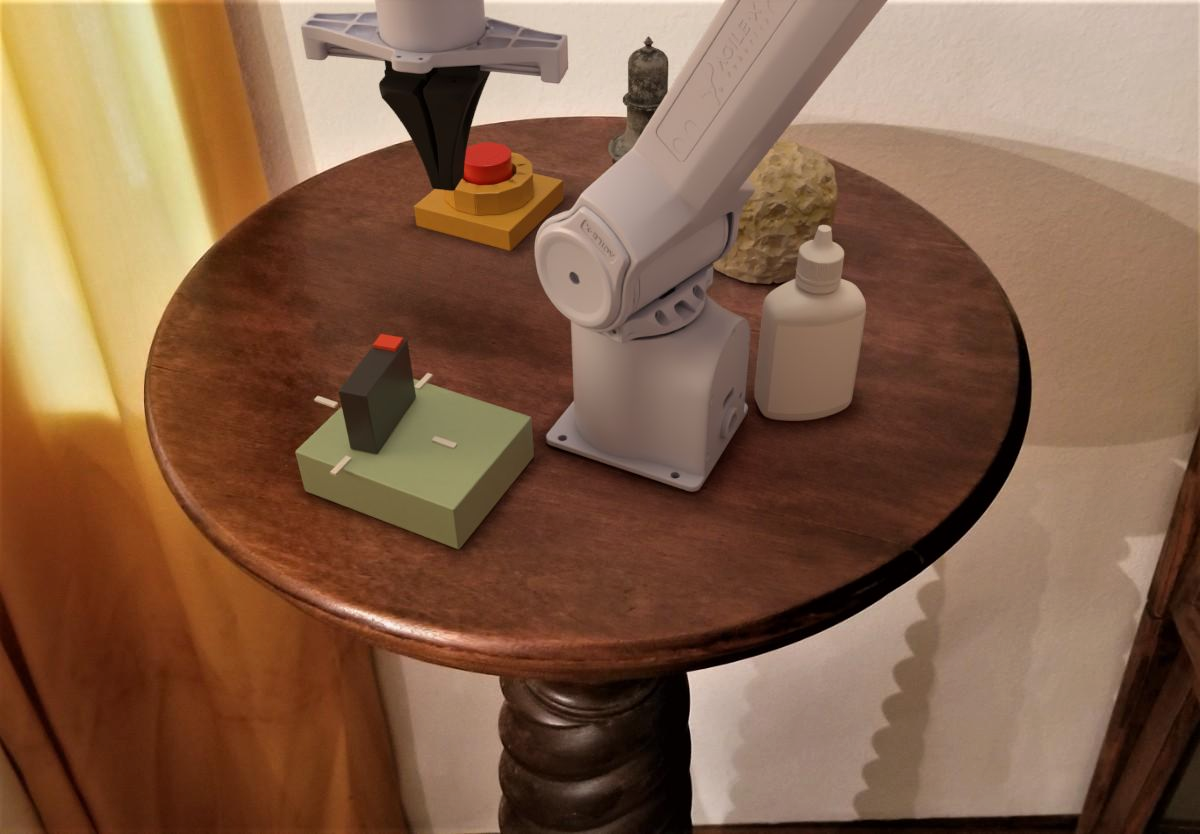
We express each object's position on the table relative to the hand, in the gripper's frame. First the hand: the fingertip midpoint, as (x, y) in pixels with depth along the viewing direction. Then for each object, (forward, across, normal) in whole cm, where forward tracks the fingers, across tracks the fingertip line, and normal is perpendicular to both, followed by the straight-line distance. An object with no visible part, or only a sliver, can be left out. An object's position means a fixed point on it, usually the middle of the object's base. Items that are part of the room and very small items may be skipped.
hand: (448, 181), depth 68 cm
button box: (+10, -2, +14) cm, 17 cm away
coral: (+10, +18, +13) cm, 25 cm away
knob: (+7, 0, -14) cm, 15 cm away
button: (+8, -2, +14) cm, 16 cm away
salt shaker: (+11, +8, +19) cm, 24 cm away
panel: (+10, +2, -14) cm, 18 cm away
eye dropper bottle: (+10, +22, -4) cm, 25 cm away
